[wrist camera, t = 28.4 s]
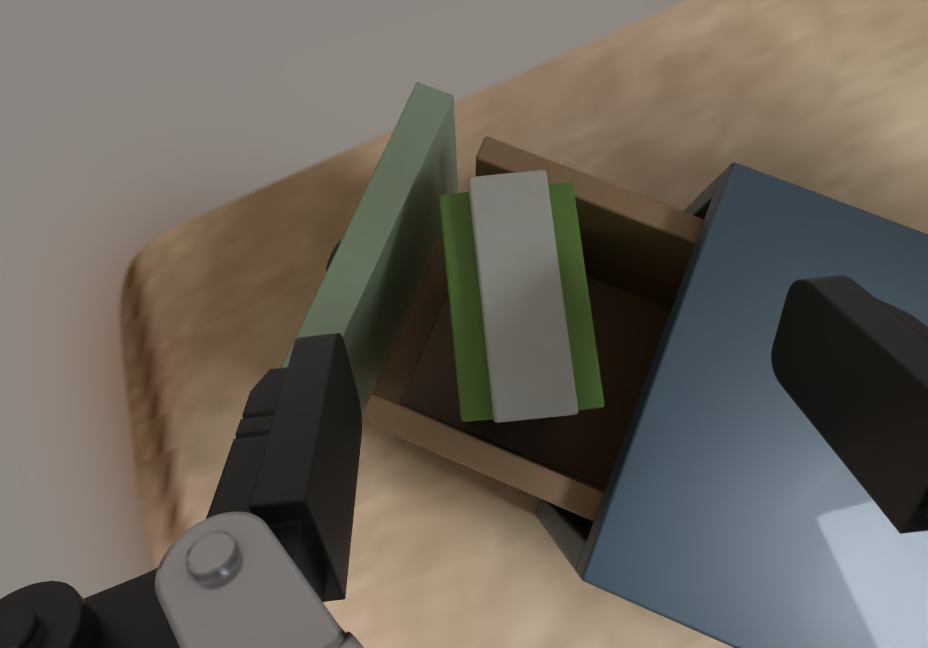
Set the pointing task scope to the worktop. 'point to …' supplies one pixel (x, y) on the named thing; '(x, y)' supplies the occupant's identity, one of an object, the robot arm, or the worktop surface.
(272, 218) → the worktop surface
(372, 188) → the drawer
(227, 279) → the worktop surface
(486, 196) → the green white block
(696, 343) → the cabinet
